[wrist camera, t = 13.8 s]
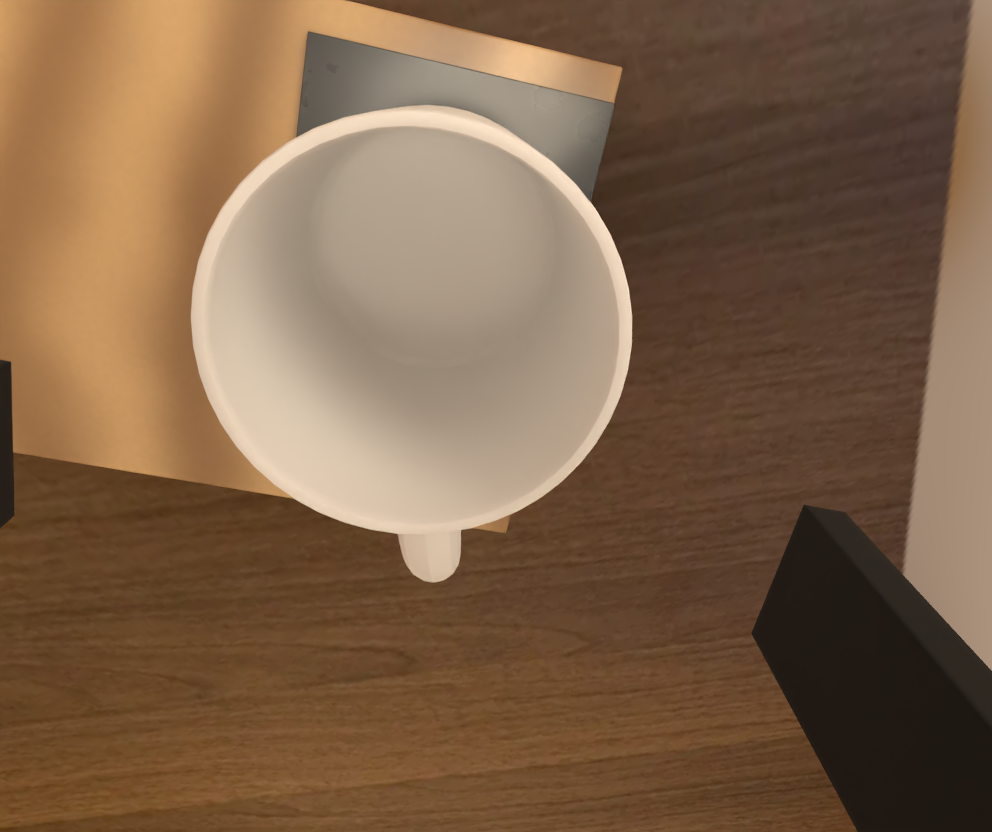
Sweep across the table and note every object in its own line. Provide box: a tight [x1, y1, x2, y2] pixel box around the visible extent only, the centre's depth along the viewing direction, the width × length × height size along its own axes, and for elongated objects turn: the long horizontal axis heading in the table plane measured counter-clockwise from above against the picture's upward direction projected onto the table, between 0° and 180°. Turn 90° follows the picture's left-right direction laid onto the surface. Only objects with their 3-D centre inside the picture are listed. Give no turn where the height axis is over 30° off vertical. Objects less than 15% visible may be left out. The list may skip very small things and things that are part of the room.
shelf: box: [0, 0, 622, 533], centre depth 25 cm, size 22×16×9 cm
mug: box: [191, 105, 632, 583], centre depth 20 cm, size 12×8×10 cm
